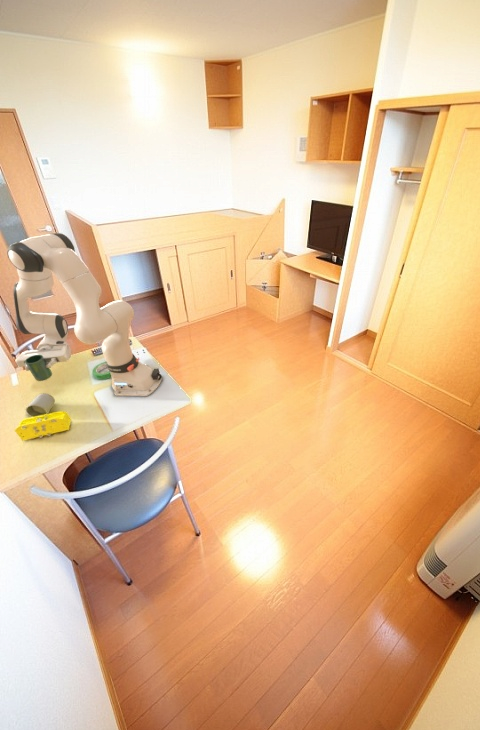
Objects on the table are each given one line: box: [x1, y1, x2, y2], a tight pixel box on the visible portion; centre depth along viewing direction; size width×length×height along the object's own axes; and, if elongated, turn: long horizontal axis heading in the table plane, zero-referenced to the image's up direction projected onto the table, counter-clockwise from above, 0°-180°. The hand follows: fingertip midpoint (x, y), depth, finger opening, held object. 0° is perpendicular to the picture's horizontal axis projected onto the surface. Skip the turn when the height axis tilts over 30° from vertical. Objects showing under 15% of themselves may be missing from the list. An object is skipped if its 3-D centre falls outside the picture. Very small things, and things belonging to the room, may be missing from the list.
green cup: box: [25, 355, 53, 382], centre depth 125 cm, size 6×6×10 cm
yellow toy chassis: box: [14, 410, 72, 441], centre depth 114 cm, size 16×6×8 cm, turn 110°
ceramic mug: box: [25, 393, 56, 417], centre depth 122 cm, size 11×8×8 cm
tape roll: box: [92, 361, 111, 380], centre depth 145 cm, size 11×11×3 cm
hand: (37, 368), depth 124 cm, fingers closed on green cup, 6 cm apart
